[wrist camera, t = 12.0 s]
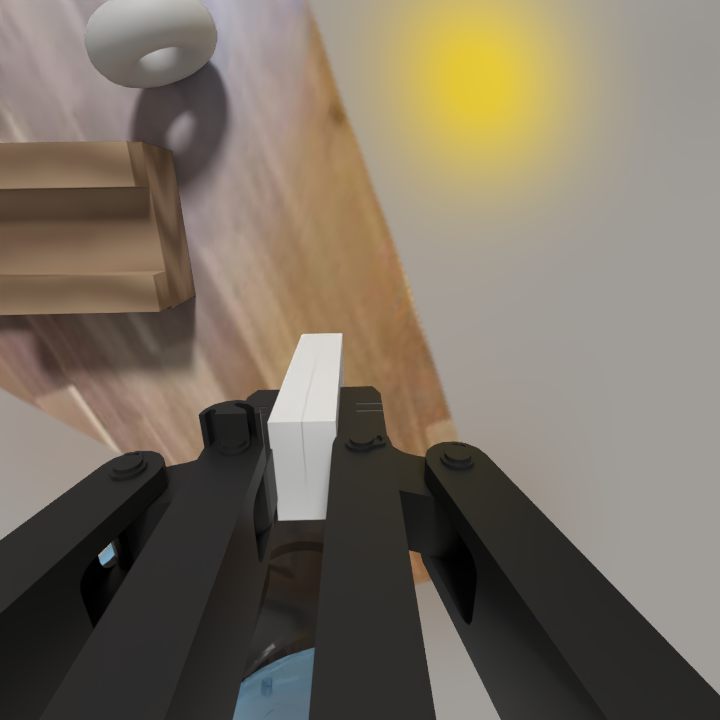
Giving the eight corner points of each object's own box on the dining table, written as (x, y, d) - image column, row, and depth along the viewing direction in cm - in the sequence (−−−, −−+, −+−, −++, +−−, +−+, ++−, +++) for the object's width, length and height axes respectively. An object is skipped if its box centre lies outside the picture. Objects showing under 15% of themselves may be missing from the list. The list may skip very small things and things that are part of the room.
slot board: (195, 295, 44) (160, 314, 36) (37, 298, 43) (-33, 318, 35) (171, 151, 39) (125, 136, 31) (-7, 154, 38) (-100, 140, 30)
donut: (141, 106, 37) (71, 73, 28) (121, 65, 36) (40, 15, 27) (238, 62, 36) (199, 12, 27) (221, 18, 35) (173, -51, 26)
